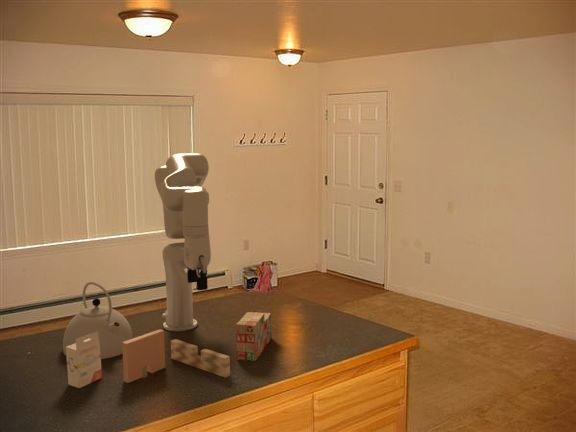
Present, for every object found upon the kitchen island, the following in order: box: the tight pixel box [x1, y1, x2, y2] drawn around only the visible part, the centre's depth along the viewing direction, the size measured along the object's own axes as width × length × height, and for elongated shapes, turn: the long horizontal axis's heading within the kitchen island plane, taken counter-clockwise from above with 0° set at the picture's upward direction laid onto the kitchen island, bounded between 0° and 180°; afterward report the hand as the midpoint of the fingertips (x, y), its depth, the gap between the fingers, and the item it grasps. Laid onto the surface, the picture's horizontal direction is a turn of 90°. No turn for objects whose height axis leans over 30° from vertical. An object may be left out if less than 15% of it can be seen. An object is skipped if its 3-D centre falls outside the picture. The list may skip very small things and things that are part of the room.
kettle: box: [62, 281, 134, 360], centre depth 200 cm, size 25×23×22 cm
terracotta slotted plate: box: [122, 329, 166, 384], centre depth 179 cm, size 2×14×12 cm, turn 142°
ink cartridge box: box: [65, 332, 103, 389], centre depth 174 cm, size 9×5×15 cm, turn 148°
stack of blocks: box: [235, 311, 272, 362], centre depth 200 cm, size 21×6×12 cm, turn 167°
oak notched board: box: [170, 338, 231, 379], centre depth 185 cm, size 24×2×6 cm, turn 52°
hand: (197, 285), depth 182 cm, fingers open, 9 cm apart
